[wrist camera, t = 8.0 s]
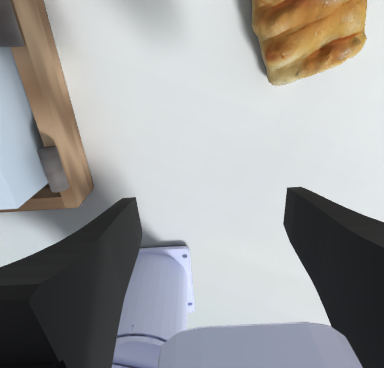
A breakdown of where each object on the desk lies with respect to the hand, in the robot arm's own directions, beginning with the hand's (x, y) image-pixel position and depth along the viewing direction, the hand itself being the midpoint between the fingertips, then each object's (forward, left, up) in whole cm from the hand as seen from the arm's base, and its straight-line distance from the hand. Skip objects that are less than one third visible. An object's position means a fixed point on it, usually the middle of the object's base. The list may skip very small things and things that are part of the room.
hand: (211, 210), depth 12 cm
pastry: (+9, -7, -10) cm, 15 cm away
